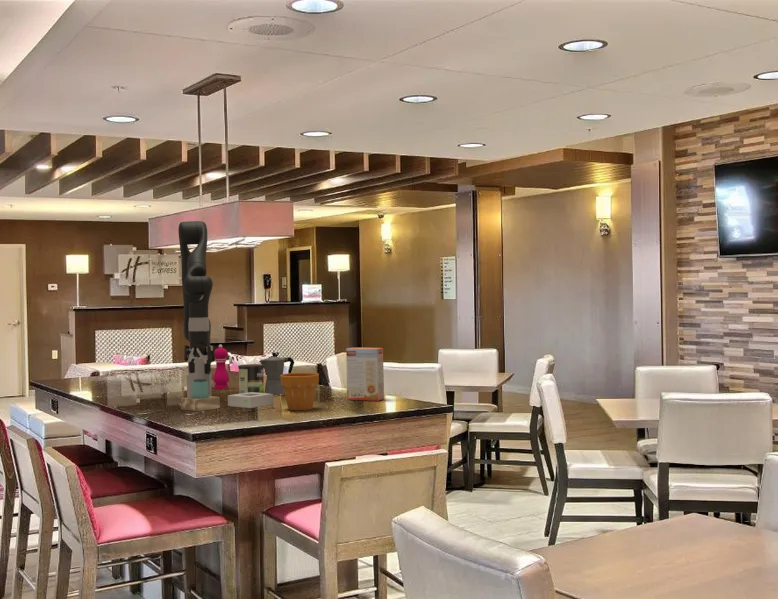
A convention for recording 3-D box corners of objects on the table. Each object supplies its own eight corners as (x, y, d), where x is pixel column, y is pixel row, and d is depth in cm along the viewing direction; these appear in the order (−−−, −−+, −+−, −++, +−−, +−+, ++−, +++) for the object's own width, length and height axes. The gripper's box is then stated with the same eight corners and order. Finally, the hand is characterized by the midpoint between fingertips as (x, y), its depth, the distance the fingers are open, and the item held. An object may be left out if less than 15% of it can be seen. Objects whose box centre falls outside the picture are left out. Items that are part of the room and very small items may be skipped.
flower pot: (303, 412, 329) (303, 376, 329) (273, 410, 337) (272, 375, 337) (326, 408, 341) (326, 373, 341) (296, 405, 349) (296, 372, 349)
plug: (192, 408, 338) (192, 379, 338) (201, 407, 341) (200, 378, 341) (199, 409, 336) (199, 380, 335) (208, 408, 339) (207, 379, 339)
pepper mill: (232, 387, 415) (231, 344, 415) (224, 389, 409) (223, 345, 408) (218, 387, 418) (217, 343, 417) (210, 389, 411) (209, 345, 411)
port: (227, 408, 344) (226, 395, 344) (251, 405, 353) (250, 392, 353) (249, 410, 336) (249, 397, 336) (273, 407, 346) (273, 393, 346)
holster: (181, 411, 337) (180, 398, 337) (201, 408, 345) (201, 395, 345) (199, 413, 331) (198, 399, 331) (219, 410, 339) (219, 396, 339)
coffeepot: (262, 396, 379) (261, 353, 379) (256, 394, 388) (255, 352, 388) (298, 394, 385) (297, 352, 385) (291, 392, 394) (290, 350, 394)
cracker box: (384, 399, 364) (383, 347, 363) (378, 401, 358) (377, 348, 358) (353, 398, 370) (352, 346, 369) (346, 400, 364) (345, 347, 364)
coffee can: (267, 398, 374) (267, 364, 374) (259, 401, 364) (258, 366, 364) (244, 398, 376) (243, 363, 376) (234, 401, 366) (234, 366, 366)
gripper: (178, 330, 339) (179, 373, 339) (204, 330, 331) (204, 375, 331) (193, 329, 345) (194, 372, 345) (219, 329, 337) (220, 373, 337)
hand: (199, 373), depth 338 cm, fingers open, 8 cm apart
